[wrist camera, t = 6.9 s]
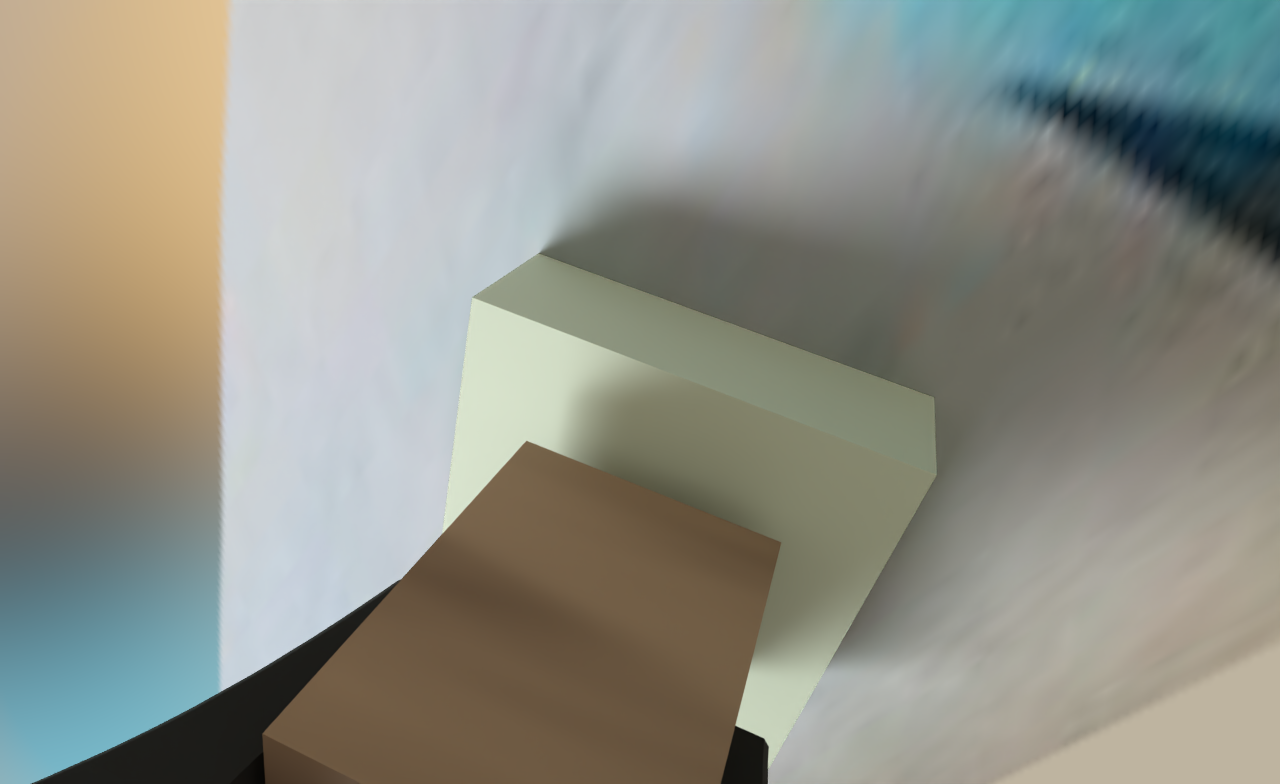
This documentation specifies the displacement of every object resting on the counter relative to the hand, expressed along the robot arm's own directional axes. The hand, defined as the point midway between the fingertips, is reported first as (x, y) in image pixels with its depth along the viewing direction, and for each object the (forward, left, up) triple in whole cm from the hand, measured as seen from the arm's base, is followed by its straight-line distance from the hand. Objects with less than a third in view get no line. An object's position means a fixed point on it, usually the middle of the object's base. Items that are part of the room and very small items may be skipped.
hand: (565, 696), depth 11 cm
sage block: (0, 0, -6) cm, 6 cm away
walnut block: (0, 0, -2) cm, 2 cm away
